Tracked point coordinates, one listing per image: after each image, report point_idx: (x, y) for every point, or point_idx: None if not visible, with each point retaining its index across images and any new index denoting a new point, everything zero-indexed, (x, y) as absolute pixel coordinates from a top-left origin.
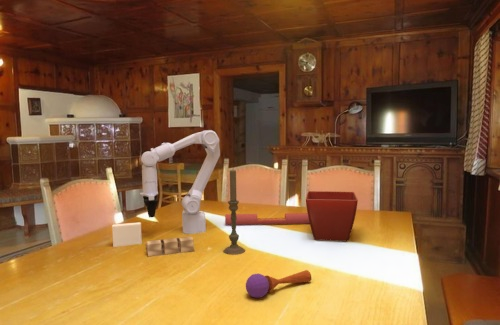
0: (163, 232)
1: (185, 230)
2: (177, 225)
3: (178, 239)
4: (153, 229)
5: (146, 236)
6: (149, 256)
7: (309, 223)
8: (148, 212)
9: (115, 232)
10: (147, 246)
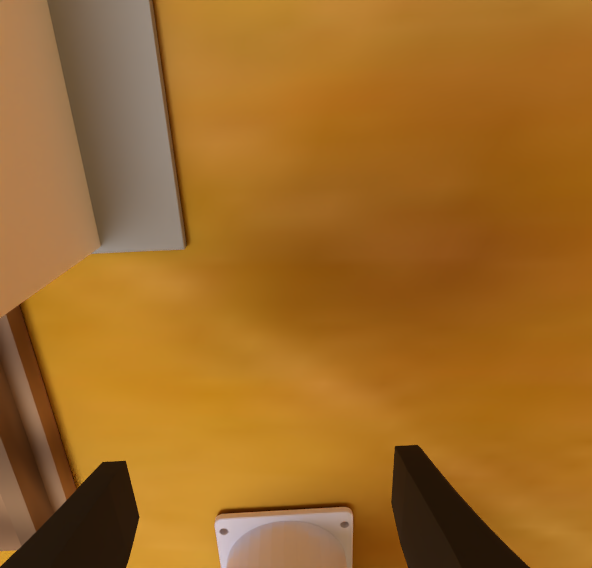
0: (395, 403)
1: (243, 560)
2: (547, 493)
3: (14, 514)
4: (528, 335)
5: (328, 280)
6: None
7: None
8: (43, 530)
9: None
10: None
